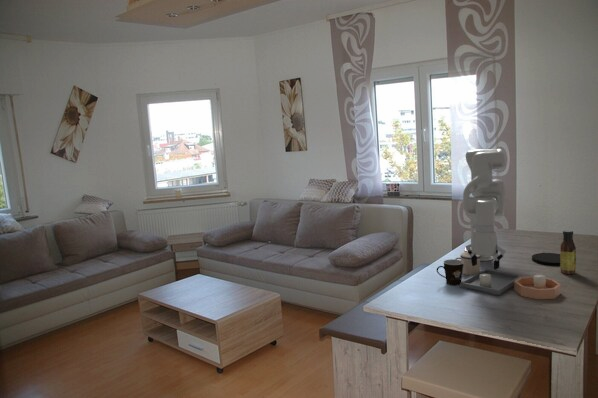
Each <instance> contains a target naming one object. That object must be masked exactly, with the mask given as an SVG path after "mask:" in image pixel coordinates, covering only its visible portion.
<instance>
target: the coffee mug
mask: <svg viewBox="0 0 598 398" xmlns="http://www.w3.org/2000/svg"><path fill="white" fill-rule="evenodd" d="M463 263H464V262H463V261H461V259H457V260H455V258H454V259H444V260H443V265H439V266H437V267H436V272H437V275H439V276H441V277H442V278H444V279H445V282H446V285H448V286H456V287H457V286H460V282H462V279H463V274H462V272H463ZM440 268H442V269H444V274H445V275H442V274H440V272H439V269H440Z"/></svg>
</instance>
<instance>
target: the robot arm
mask: <svg viewBox="0 0 598 398" xmlns="http://www.w3.org/2000/svg"><path fill="white" fill-rule="evenodd" d="M465 160H466V164H467V165H468V167H469V170H470V176H471V177H470V178H471V180H470V181H469V183H467V185H466V186H465V188H464V189H463V195H462V205H463V206H462V207H463V211H464V212H465V214H468V215H469V219H470V220H469V221H470V223H469V224H470V244H468V245H465V248H464V252H463V253H465V252H467V251H468V253H469V254H470V256H471V263H472V266H475V265H477V256H476V254H478V255H480V256H481V257H480V262H488V261H492V260H493V270H494V271H497V270H499V268H500V260H501V259H503V258H504V256H505V254H506V253H507V251H506V250H505V249H503V248H502V247H500V246H499V242H498V240H499V239H498V236H497V235H498V234H497V232H496V231H495V218H496V219H498V218H503V217H505V216H504V215H505V214H506V213H505V212H506V211H505V210H506V189H505V187H506V186H505V183H504V181H503V180H502V179H493V170H502V169H504V168H505V166H506V163H507V162H506V160H507V159H506V155H505V152H504V151H503V149H501V148H487V149H486V148H484V149H470V150H468V151H467V152H466V154H465ZM471 249H472V250H471ZM499 253H500V254H499Z"/></svg>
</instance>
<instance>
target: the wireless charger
mask: <svg viewBox="0 0 598 398" xmlns="http://www.w3.org/2000/svg"><path fill="white" fill-rule="evenodd" d="M531 261H532V262H533V263H536V264H539V265H542V266H547V267H548V266H549V267H560V253H556V252H537V253H534V254H532V255H531Z"/></svg>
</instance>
